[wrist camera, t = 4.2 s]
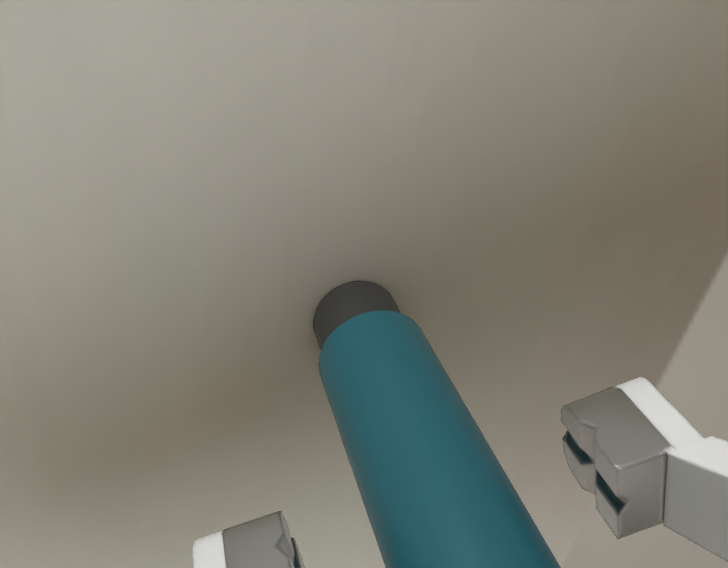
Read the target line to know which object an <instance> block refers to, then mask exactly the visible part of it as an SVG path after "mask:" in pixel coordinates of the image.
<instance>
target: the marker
mask: <svg viewBox="0 0 728 568" xmlns="http://www.w3.org/2000/svg"><path fill="white" fill-rule="evenodd" d="M313 328H314V332H315V335H316V338H317V341H318V344H319V346H320V349H321V353H320V357H319V373H320V377H321V380H322V383H323V386H324V388H325V391H326V394H327V397H328V400H329V403H330V406H331V409H332V412H333V415H334V418H335V421H336V424H337V426H338V429H339V432H340V435H341V438H342V441H343V444H344V447H345V450H346V453H347V456H348V459H349V461H350V464H351V467H352V470H353V473H354V476H355V479H356V482H357V485H358V488H359V491H360V494H361V497H362V499H363V502H364V505H365V508H366V511H367V514H368V517H369V520H370V523H371V526H372V529H373V532H374V535H375V537H376V540H377V543H378V546H379V549H380V552H381V555H382V558H383V561H384V564H385V567H386V568H561V567H560V566H559V564H558V562H557V560H556V559H555V557H554V555H553V554H552V552H551V550H550V548H549V547H548V545H547V543H546V542H545V540H544V538H543V537H542V535H541V533H540V531H539V530H538V528H537V526H536V525H535V523H534V521H533V519H532V518H531V516H530V514H529V513H528V511H527V509H526V508H525V506H524V504H523V502H522V501H521V499H520V497H519V496H518V494H517V492H516V490H515V489H514V487H513V485H512V484H511V482H510V480H509V479H508V477H507V475H506V473H505V472H504V470H503V468H502V467H501V465H500V463H499V462H498V460H497V458H496V456H495V455H494V453H493V451H492V450H491V448H490V446H489V444H488V443H487V441H486V439H485V438H484V436H483V434H482V433H481V431H480V429H479V427H478V426H477V424H476V422H475V421H474V419H473V417H472V415H471V414H470V412H469V410H468V409H467V407H466V405H465V404H464V402H463V400H462V398H461V397H460V395H459V393H458V392H457V390H456V388H455V386H454V385H453V383H452V381H451V380H450V378H449V376H448V375H447V373H446V371H445V369H444V368H443V366H442V364H441V363H440V361H439V359H438V358H437V356H436V354H435V352H434V351H433V349H432V347H431V346H430V344H429V342H428V340H427V339H426V337H425V335H424V334H423V332H422V330H421V329H420V327H419V326H418V325H417V324H416V323H415V322H414V321H413V320H412V319H410V318H409V317H407V316H405V315H403V314H401V312H400V310H399V308H398V307H397V305H396V303H395V301H394V300H393V298H392V296H391V295H390V293H389V292H388V291H387V290H385V289H384V288H383V287H381V286H379V285H377V284H374V283H370V282H363V281H359V282H351V283H347V284H344V285H342V286H339V287H337V288H336V289H334V290H332V291H331V292H330V293H329V294H327V295H326V296H325V297H324V298H323V299H322V301H321V302H320V304H319V305H318V307H317V309H316V312H315V315H314V319H313Z"/></svg>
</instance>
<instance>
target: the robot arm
mask: <svg viewBox="0 0 728 568" xmlns="http://www.w3.org/2000/svg"><path fill="white" fill-rule="evenodd" d="M561 422H562V423H563V424H564V426H565V427H566V428H567V430H568V431H567V432H566V434H565V435H564V437H563V438H562V439H563V448H564V454H565V457H566V460H567V463H568V465H569V468H570V470H571V471H572V473H573V475H574V477H575V479H576V480H577V482H578V483H579V485H580V486H581V488H582V489H584V490H586V491H588V492H591V493H593V494H595V495H596V509H597V510H598V512H599V514H600V515H601V516H602V518H603V519H604V520H605V522H606V523H607V525H608V526H609V527H610V529H611V530H612V532H613V533H614V535H615V536H616V538H617V539H620V538H622V537H625V536H628V535H631V534H634V533H636V532H639V531H642V530H644V529H647V528H650V527H653V526H656V525H658V524H661V523H664V526H665V527H667V528H669V529H671V530H672V531H674V532H676V533H678V534H680V535H681V536H683V537H685V538H687V539H688V540H690V541H692V542H694V543H695V544H697V545H699V546H701V547H702V548H704V549H706V550H708V551H710V552H711V553H713V554H715V555H716V556H718V557H720V558H722V559H724V560H725V561H727V562H728V441H725V440H723V439H720V438H717V437H714V436H710V437H707V438H703V436H702V435H701V434H700V433H699V432H698V431H697V430H696V429H695V428H694V427H693V426H692V425H691V424H690V423H689V422H688V421H687V420H686V419H685V418H684V417H683V416H682V415H681V414H680V413H679V412H678V411H677V410H676V409H675V408H674V407H673V406H672V404H671V403H670V402H669V401H668V400H667V399H666V398H665V397H664V396H663V395H662V394H661V393H660V392H659V391H658V390H657V389H656V388H655V387H654V386H653V385H652V384H651V383H650V382H649V381H648V380H647V379H645V378H643V377H639V378H636V379H633V380H631V381H628V382H625V383H623V384H620V385H617V386H615V387H610V388H608V389H605V390H602V391H600V392H597V393H595V394H592V395H589V396H587V397H584V398H582V399H579V400H576V401H574V402H571V403H568V404H566V405H563V407H562V409H561ZM192 554H193V568H305V566H304V562H303V559H302V556H301V553H300V551H299V548H298V546H297V543H296V541H295V539H294V538H292V537H291V536H290V532H289V527H288V523H287V521H286V519H285V517H284V514H283V512H282V511H278V512H275V513H272V514H269V515H266V516H263V517H260V518H257V519H254V520H251V521H248V522H245V523H242V524H239V525H236V526H234V527H231V528H228V529H225V530H222V531H219V532H217V533H214V534H211V535H208V536H205V537H202V538H200V539H197V540H194V544H193V549H192Z"/></svg>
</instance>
